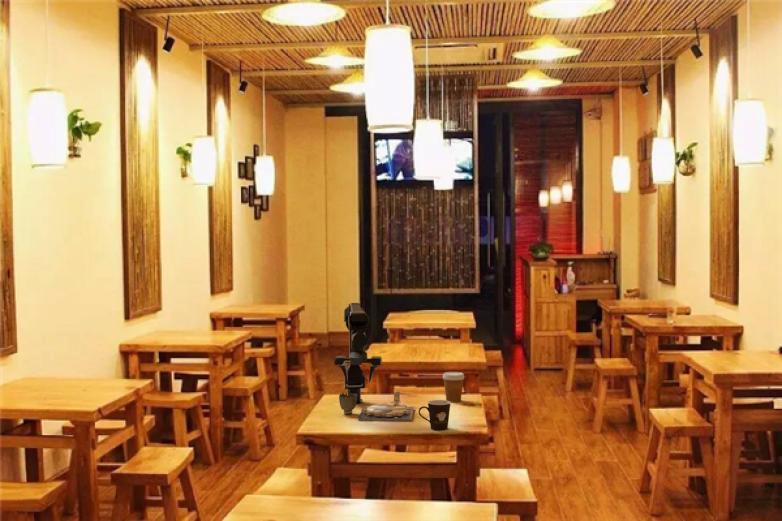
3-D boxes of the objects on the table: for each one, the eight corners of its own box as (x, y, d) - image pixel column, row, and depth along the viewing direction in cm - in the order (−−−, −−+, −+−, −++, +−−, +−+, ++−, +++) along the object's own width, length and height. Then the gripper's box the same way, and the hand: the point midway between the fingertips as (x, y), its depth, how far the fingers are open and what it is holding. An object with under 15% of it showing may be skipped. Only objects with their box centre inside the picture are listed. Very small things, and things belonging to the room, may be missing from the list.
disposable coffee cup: (446, 403, 364) (446, 376, 363) (439, 399, 373) (439, 372, 372) (467, 402, 366) (467, 375, 365) (460, 398, 375) (460, 371, 375)
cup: (354, 416, 342) (354, 396, 342) (336, 415, 344) (336, 396, 343) (359, 412, 350) (358, 392, 349) (341, 411, 351) (341, 392, 351)
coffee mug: (452, 426, 325) (452, 400, 325) (448, 431, 317) (448, 405, 316) (422, 424, 328) (422, 399, 327) (418, 430, 319) (417, 404, 319)
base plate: (363, 408, 356) (363, 405, 356) (414, 409, 354) (413, 406, 354) (358, 420, 335) (358, 417, 335) (411, 421, 333) (411, 418, 333)
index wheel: (366, 405, 356) (366, 390, 356) (411, 406, 355) (411, 390, 354) (361, 417, 336) (361, 401, 336) (409, 417, 335) (408, 401, 334)
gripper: (332, 346, 334) (332, 385, 335) (379, 346, 333) (379, 386, 334) (336, 341, 345) (336, 379, 346) (382, 342, 344) (382, 380, 345)
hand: (358, 381), depth 342 cm, fingers open, 9 cm apart
